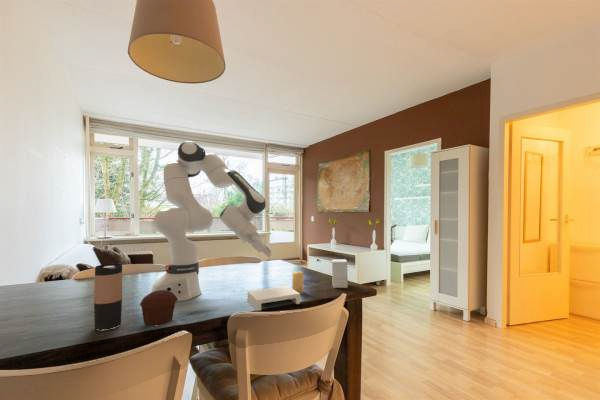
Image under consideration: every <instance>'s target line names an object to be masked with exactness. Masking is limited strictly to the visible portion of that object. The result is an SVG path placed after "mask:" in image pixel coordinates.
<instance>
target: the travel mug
mask: <svg viewBox="0 0 600 400" xmlns="http://www.w3.org/2000/svg"><path fill="white" fill-rule="evenodd" d="M93 288H94V289H93V290H94V293H93V294H94V295H93V312H94V313H93V314H94V315H93V317H94V318H93V319H94V322H93V323H94V330H95V329H99V330H102V329H110V328H113V327H116V326H118V325H120V324H121V325H122V312H123V311H122V308H123V307H122V306H123V263H115V262H114V263H104V264H100V265H96V266H95V267H94V287H93ZM121 325H120V326H121Z"/></svg>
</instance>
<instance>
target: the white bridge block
mask: <svg viewBox="0 0 600 400" xmlns="http://www.w3.org/2000/svg"><path fill="white" fill-rule="evenodd" d="M286 300H290V301H291V302H293V303H294V304H296V305H300V304H301V294H300V293H298V292H297V291H295V290H293V289H292V287H290V286H288V285H283V286H277V287H269V288H261V289H256V290H254V289H253V290H247V302H248V304H250V305H251V306H252V307H253V308H254V309H255V311H256V312H257V311H258V312H259V311H262V304H266V303H272V302H279V301H280V302H281V301H286Z"/></svg>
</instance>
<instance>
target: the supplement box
mask: <svg viewBox="0 0 600 400" xmlns="http://www.w3.org/2000/svg"><path fill="white" fill-rule="evenodd" d="M331 268H332V269H331V271H332V272H331V274H332V278H331V279H332V281H331V283H332V288H334V289H335V288H339V289H342V288H343V289H346V288H347V289H348V288H349V287H348V286H349V285H348V281H349V280H348V278H349V277H348V261H347V259H345V258H343V259H339V258H338V259H337V258H336V259H335V258H333V259H331Z"/></svg>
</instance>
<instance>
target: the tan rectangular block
mask: <svg viewBox="0 0 600 400" xmlns="http://www.w3.org/2000/svg"><path fill="white" fill-rule="evenodd" d="M291 278H292V281H291V282H292V284H291V285H292V286H291V288H292V289H293V290H295V291H297V292H298V293H300V295H302V294H304V272H303V271H300V270H299V271H293V272H292V276H291Z"/></svg>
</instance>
